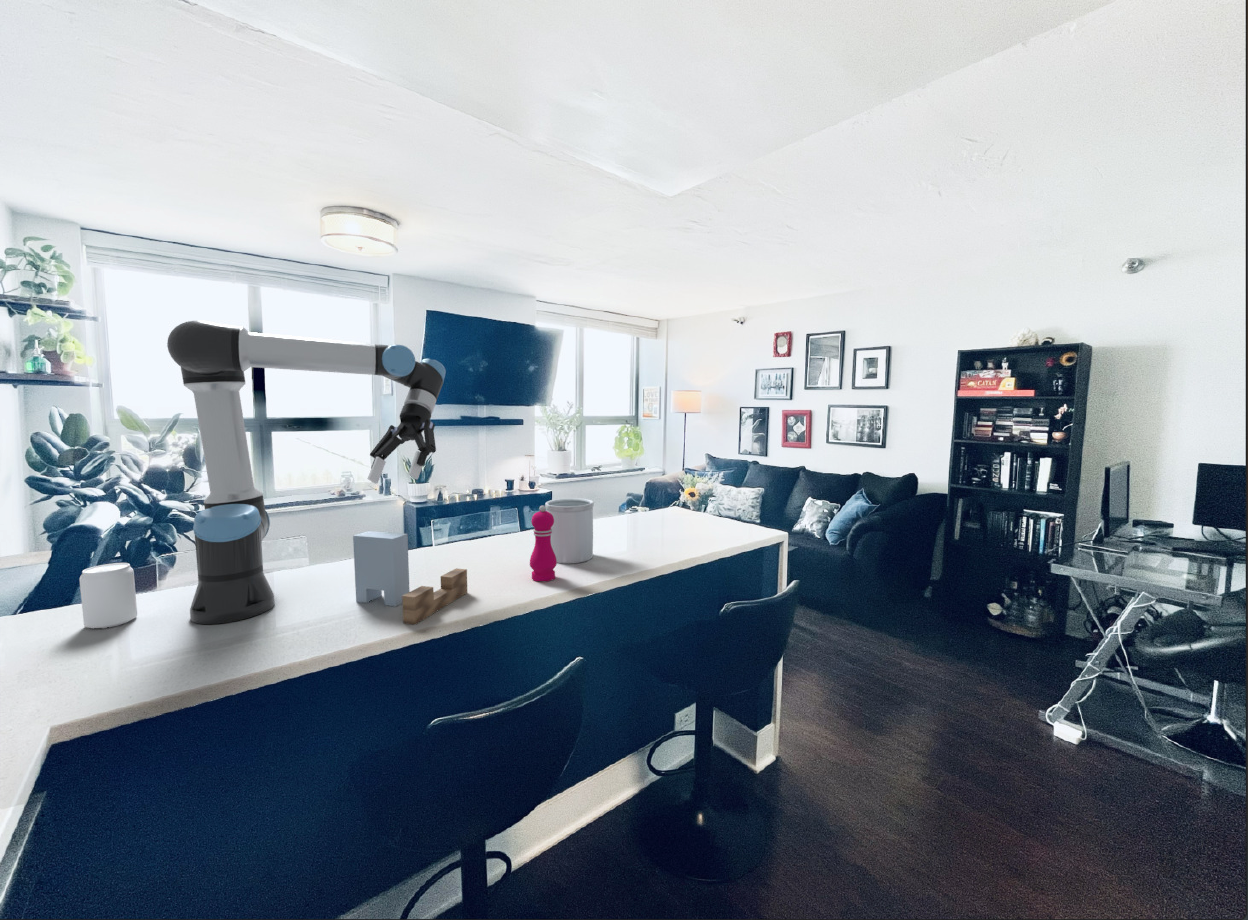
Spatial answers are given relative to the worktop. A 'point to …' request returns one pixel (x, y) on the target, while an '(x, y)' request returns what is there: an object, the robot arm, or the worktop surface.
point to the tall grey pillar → (381, 566)
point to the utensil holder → (571, 529)
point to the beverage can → (108, 595)
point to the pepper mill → (543, 547)
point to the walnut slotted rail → (434, 596)
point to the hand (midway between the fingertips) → (392, 479)
